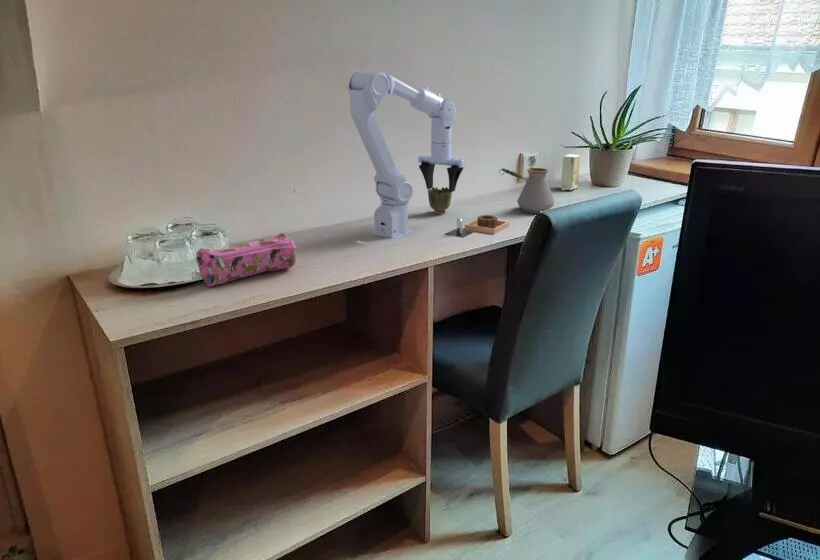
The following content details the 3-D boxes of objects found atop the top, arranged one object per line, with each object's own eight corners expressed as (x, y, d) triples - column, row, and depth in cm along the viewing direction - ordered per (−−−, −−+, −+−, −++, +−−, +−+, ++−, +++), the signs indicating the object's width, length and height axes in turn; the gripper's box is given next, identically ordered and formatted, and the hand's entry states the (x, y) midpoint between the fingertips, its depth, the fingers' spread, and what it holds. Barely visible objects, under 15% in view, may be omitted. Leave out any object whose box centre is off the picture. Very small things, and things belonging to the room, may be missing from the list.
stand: (463, 239, 167) (463, 222, 166) (444, 235, 171) (444, 219, 169) (473, 234, 172) (474, 217, 170) (455, 230, 175) (455, 214, 174)
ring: (491, 231, 173) (491, 220, 172) (474, 228, 175) (474, 218, 174) (499, 226, 177) (499, 216, 176) (482, 224, 179) (483, 214, 178)
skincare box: (571, 191, 220) (574, 157, 216) (560, 190, 222) (562, 156, 218) (577, 188, 225) (580, 154, 221) (566, 187, 227) (569, 153, 223)
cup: (452, 211, 195) (452, 186, 192) (451, 217, 188) (451, 191, 186) (428, 211, 196) (428, 186, 193) (426, 217, 189) (426, 191, 186)
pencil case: (210, 293, 133) (205, 254, 130) (196, 281, 140) (191, 243, 137) (301, 272, 145) (298, 236, 141) (284, 262, 152) (281, 227, 148)
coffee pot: (534, 204, 204) (537, 158, 198) (561, 211, 195) (565, 163, 189) (485, 214, 192) (487, 165, 187) (511, 222, 183) (514, 171, 178)
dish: (494, 235, 170) (494, 229, 170) (464, 230, 175) (465, 224, 174) (508, 228, 177) (509, 221, 177) (480, 223, 182) (480, 217, 182)
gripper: (470, 142, 174) (469, 190, 179) (427, 138, 182) (427, 184, 187) (458, 145, 169) (457, 194, 174) (413, 141, 176) (414, 188, 181)
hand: (440, 189), depth 180 cm, fingers open, 7 cm apart
